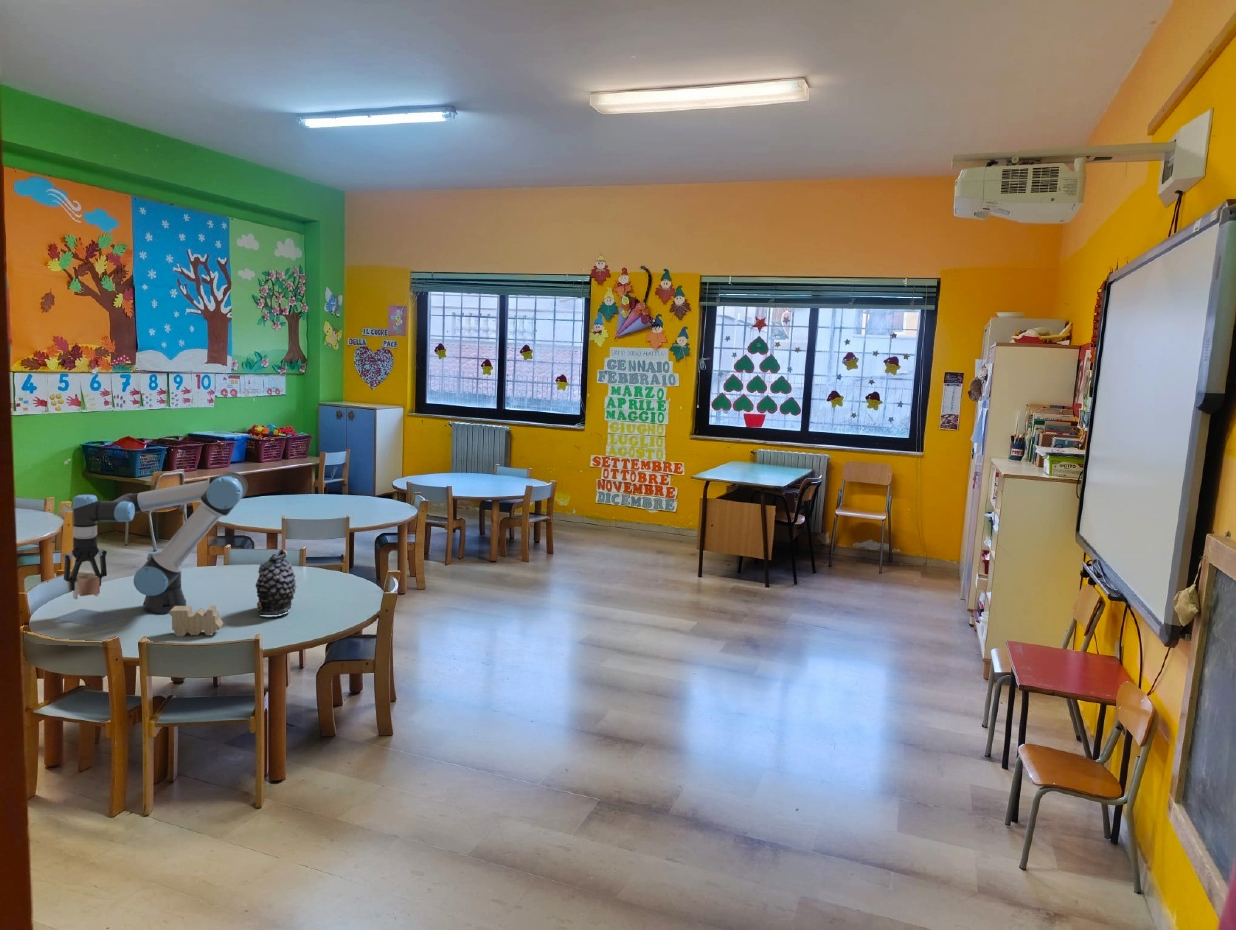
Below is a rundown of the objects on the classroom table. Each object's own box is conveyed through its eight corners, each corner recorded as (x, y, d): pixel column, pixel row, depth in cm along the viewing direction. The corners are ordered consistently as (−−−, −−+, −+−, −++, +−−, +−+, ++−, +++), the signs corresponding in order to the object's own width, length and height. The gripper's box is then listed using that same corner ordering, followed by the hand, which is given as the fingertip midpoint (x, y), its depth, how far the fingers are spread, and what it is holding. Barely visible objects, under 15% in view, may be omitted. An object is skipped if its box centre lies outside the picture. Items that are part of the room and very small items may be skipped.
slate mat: (126, 616, 311) (126, 615, 311) (96, 627, 297) (96, 626, 297) (81, 609, 314) (81, 608, 314) (50, 620, 301) (50, 619, 301)
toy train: (219, 636, 297) (219, 609, 296) (168, 636, 293) (168, 610, 292) (223, 631, 302) (223, 605, 301) (173, 631, 298) (173, 605, 297)
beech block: (88, 570, 308) (99, 577, 300) (88, 585, 309) (99, 593, 301) (70, 573, 303) (80, 580, 296) (70, 588, 304) (81, 596, 297)
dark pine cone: (260, 604, 335) (260, 545, 332) (298, 604, 339) (299, 545, 336) (250, 620, 315) (251, 558, 312) (291, 620, 319) (292, 558, 316)
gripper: (110, 531, 309) (110, 590, 312) (51, 537, 295) (52, 598, 298) (117, 535, 304) (117, 594, 307) (58, 541, 290) (59, 603, 293)
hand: (85, 596), depth 302 cm, fingers closed on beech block, 6 cm apart
